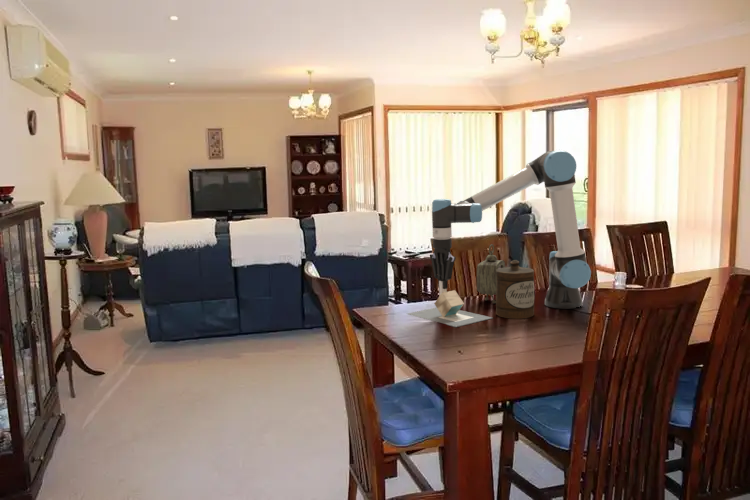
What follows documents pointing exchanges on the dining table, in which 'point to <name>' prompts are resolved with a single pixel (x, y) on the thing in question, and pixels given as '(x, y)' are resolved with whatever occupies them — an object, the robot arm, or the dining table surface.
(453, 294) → the birch cube
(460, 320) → the mat
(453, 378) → the dining table surface
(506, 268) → the wooden container
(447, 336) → the dining table surface
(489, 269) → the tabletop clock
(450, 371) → the dining table surface
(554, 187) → the robot arm
